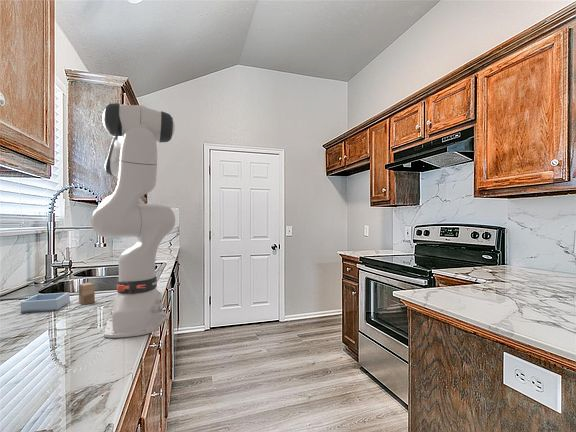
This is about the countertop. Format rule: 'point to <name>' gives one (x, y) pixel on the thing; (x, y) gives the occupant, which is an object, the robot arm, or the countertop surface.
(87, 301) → the block
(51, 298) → the box
